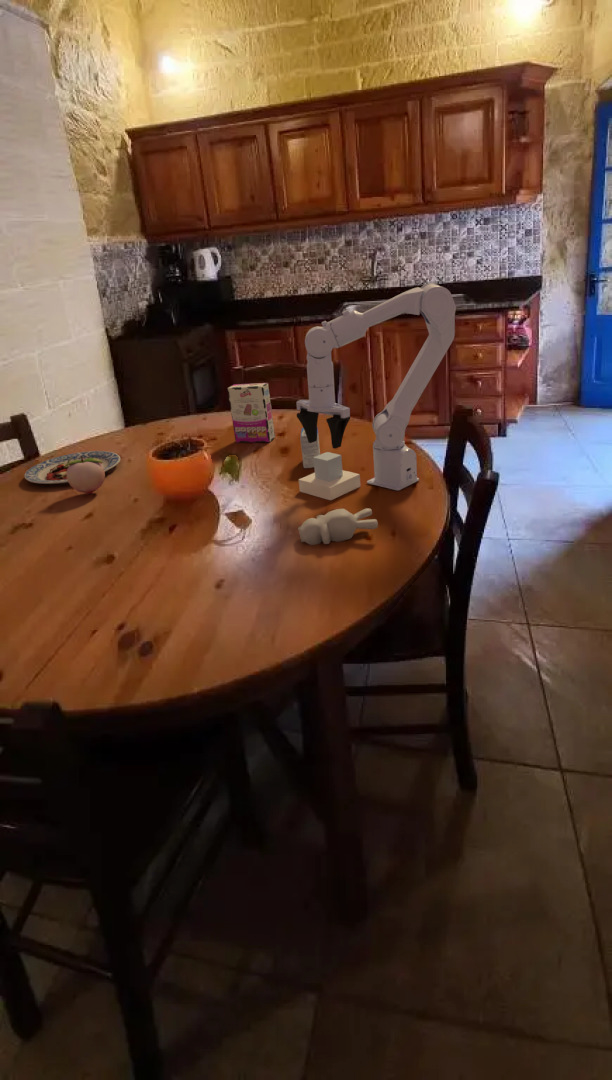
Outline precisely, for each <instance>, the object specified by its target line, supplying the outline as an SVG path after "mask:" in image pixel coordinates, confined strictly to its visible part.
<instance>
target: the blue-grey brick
mask: <svg viewBox="0 0 612 1080" xmlns="http://www.w3.org/2000/svg"><path fill="white" fill-rule="evenodd" d="M313 459H314V473H315V478H317V479H321V480H324V481H328V482H330V481H332V480H334V479H337V478H339V477H341V476H343V471H342V470H343V463H342V462H343V461H342V454H338V453H333V452H330V451H326V452H324V453H323V452H322V453H320V455H318V456H316V457H313Z"/></svg>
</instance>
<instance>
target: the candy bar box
mask: <svg viewBox="0 0 612 1080" xmlns="http://www.w3.org/2000/svg"><path fill="white" fill-rule="evenodd" d="M227 395H228V401H229V409H230V413H231V421H232V426H233V427H232V428H233V433H234V439H235V443H236V444H237V443H238V444H239V443H243V444H244V443H271V442H272V441H273V440H274V439H275V438H276V432H275V425H274V418H273V410H272V403H271V401H272V400H271V395H270V387H269V382H262V383H261V382H260V383H258V382H257V383H241V384H240V383H238V384H237V383H236V384H232V385H230V386H229V387H227Z"/></svg>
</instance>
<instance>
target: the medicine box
mask: <svg viewBox="0 0 612 1080" xmlns="http://www.w3.org/2000/svg"><path fill="white" fill-rule="evenodd" d="M300 447H301V455H302V457H301V458H302V466H303V468H304V469H313V468H314V459H313V457H316V456H318V455H321V450H320V449H321V448H320V438H319V427H318V426H317V441H315V442H312V443H309V442H308V439H307V436H306V433H305V430H304V428H303V427H302V428H300Z"/></svg>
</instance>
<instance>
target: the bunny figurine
mask: <svg viewBox="0 0 612 1080" xmlns="http://www.w3.org/2000/svg"><path fill="white" fill-rule="evenodd" d="M372 515H373V511H372V509H371V508H370V507H369V508H367V507H366V508H364V509H361V510H360V511H357V512H356V513H351V512H350V511H348V510H347V509H346V508H338V509H337V508H336V509H333V510H331V511H328V512H327V513H326V514H318V515H316V518H315V517H311V518H307V519H306V520H305V521H303V523H302V524H301V525H300V526H298V533H299V534H298V535H299V538H300V542H301V543H306V544H308V545H310V546H313V545H314V546H316V545H319V544H321V543H323V544H324V545H329V544H330V542H331V541H332V542H338V543H339V542H343V541H347V540H350V539H352V537H353V536H354V534H355V532H356V530H357V529H358V530H360V529H361V530H375V529H377V528H378V527H379V523H378V520H377V519H376V518H373V519H364V518H366V517H369V516H372Z"/></svg>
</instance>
